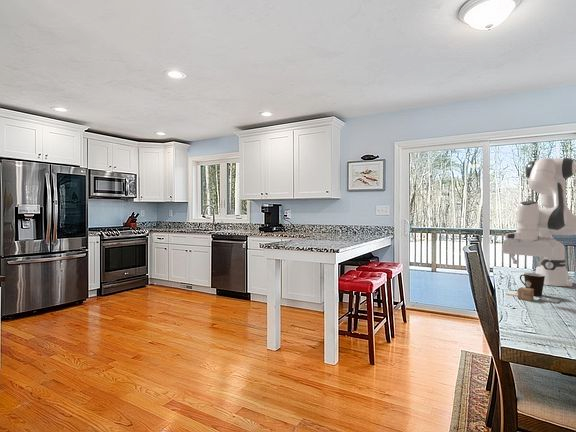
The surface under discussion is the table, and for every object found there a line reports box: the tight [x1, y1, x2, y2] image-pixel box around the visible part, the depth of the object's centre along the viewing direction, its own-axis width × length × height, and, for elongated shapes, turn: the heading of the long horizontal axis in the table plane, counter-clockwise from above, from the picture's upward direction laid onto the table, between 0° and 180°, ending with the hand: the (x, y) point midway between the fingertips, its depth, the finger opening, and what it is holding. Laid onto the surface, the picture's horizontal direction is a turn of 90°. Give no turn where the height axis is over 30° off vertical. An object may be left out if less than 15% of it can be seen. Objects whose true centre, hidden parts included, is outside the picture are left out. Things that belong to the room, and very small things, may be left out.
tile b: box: [505, 291, 518, 298], centre depth 176 cm, size 7×7×1 cm
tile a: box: [537, 296, 561, 304], centre depth 165 cm, size 7×7×1 cm
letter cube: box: [517, 286, 535, 302], centre depth 168 cm, size 5×5×5 cm
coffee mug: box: [519, 272, 545, 297], centre depth 178 cm, size 12×9×10 cm
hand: (526, 265), depth 167 cm, fingers open, 8 cm apart
